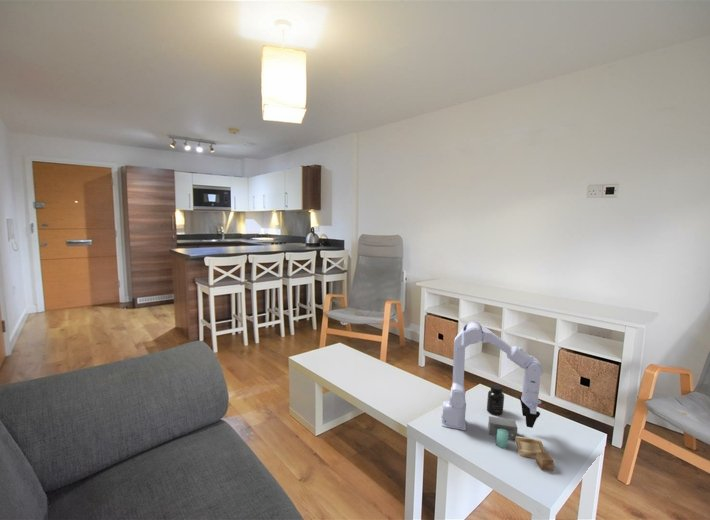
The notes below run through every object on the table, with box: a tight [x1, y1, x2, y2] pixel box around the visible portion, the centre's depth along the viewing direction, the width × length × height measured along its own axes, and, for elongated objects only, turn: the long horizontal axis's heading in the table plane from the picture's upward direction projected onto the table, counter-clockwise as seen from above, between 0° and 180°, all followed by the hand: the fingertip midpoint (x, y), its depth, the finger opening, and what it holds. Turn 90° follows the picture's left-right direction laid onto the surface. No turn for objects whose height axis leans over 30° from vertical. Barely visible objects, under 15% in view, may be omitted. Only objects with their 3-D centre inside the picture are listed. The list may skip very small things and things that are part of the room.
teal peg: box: [495, 429, 509, 449], centre depth 136 cm, size 4×4×6 cm
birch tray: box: [514, 435, 547, 460], centre depth 133 cm, size 9×9×2 cm
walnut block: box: [535, 451, 555, 471], centre depth 125 cm, size 4×4×4 cm
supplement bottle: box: [486, 383, 505, 417], centre depth 158 cm, size 7×7×12 cm
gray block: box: [487, 415, 518, 440], centre depth 143 cm, size 10×5×5 cm, turn 75°
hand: (527, 421), depth 140 cm, fingers open, 7 cm apart
